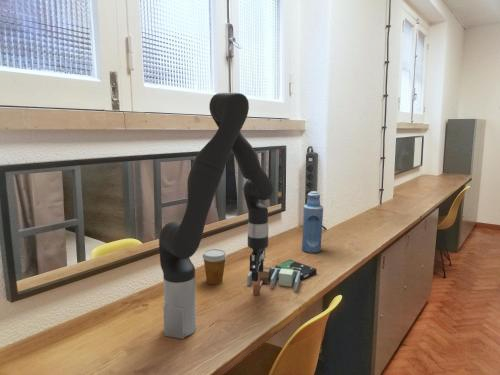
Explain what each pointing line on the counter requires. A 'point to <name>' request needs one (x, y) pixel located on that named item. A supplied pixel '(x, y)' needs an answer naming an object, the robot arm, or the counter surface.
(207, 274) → the disposable coffee cup
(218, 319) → the counter surface
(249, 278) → the lane rack
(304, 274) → the disk drive
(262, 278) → the block with brown handle
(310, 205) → the bottle
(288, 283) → the block
